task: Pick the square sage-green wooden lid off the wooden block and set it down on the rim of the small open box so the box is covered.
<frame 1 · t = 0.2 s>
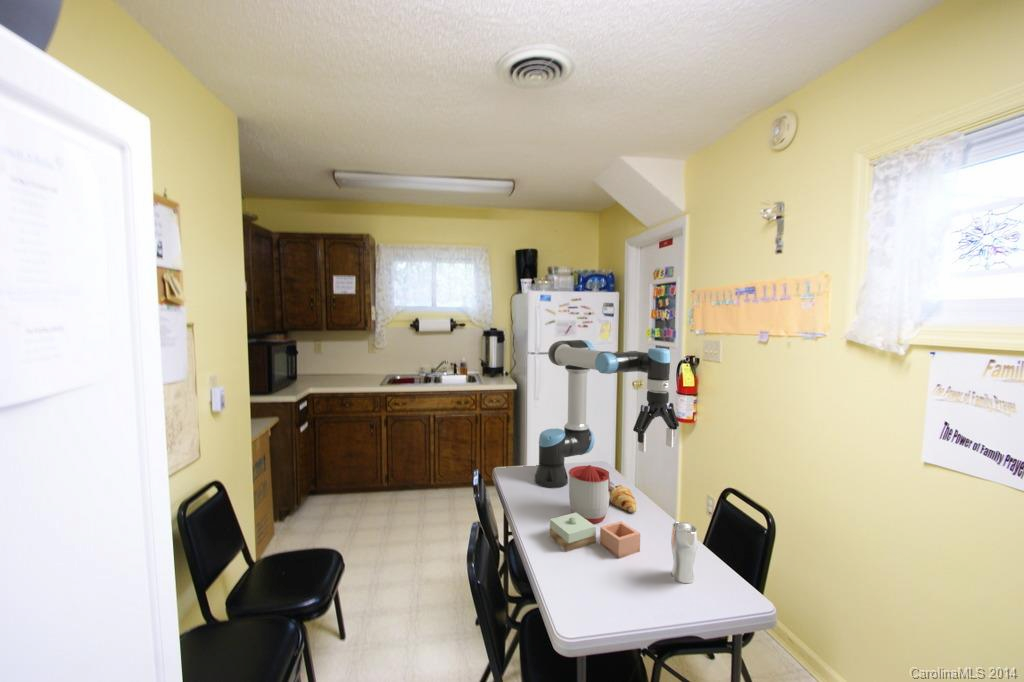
hand: (655, 448, 151), 28 cm above the table, fingers open, 13 cm apart
open box: (619, 547, 136), on the table
lid: (572, 531, 140), point 3 cm above the table, touching wooden block
croissant: (620, 503, 169), on the table
beer glass: (682, 577, 121), on the table
citrus juicer: (591, 517, 157), on the table
wooden block: (572, 539, 140), on the table
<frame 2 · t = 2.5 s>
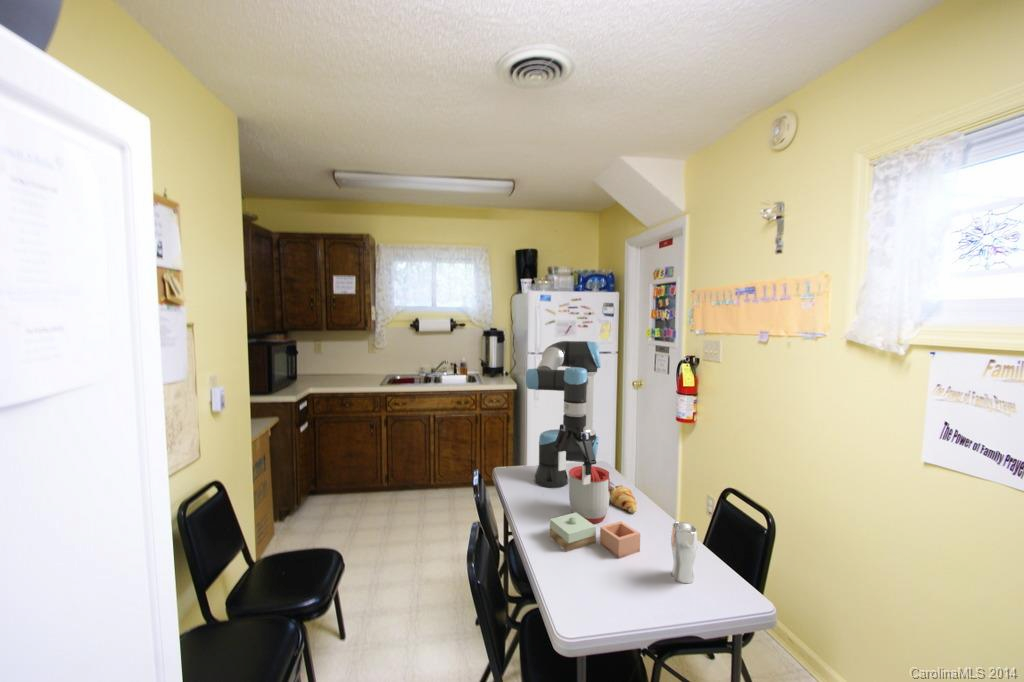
hand: (573, 476, 139), 22 cm above the table, fingers open, 13 cm apart
nothing on the table moved.
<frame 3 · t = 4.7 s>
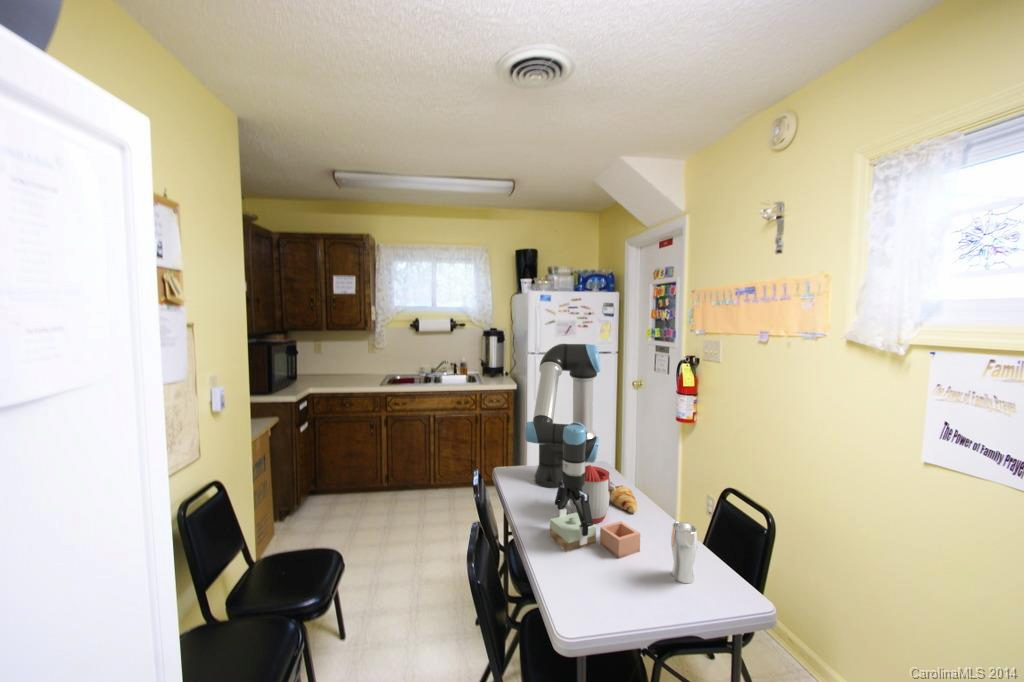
hand: (572, 535, 140), 2 cm above the table, fingers closed on lid, 11 cm apart
lid: (572, 531, 140), point 3 cm above the table, touching gripper, wooden block
everything else where it was.
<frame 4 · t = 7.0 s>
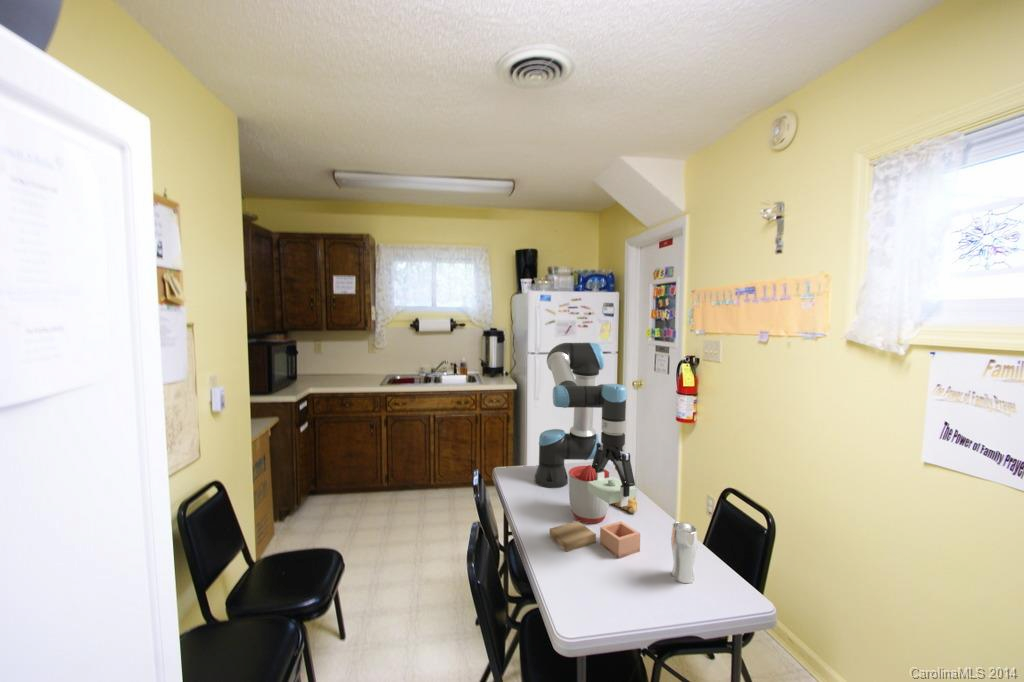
hand: (611, 498, 135), 16 cm above the table, fingers closed on lid, 11 cm apart
lid: (611, 494, 135), point 18 cm above the table, touching gripper
everything else where it was.
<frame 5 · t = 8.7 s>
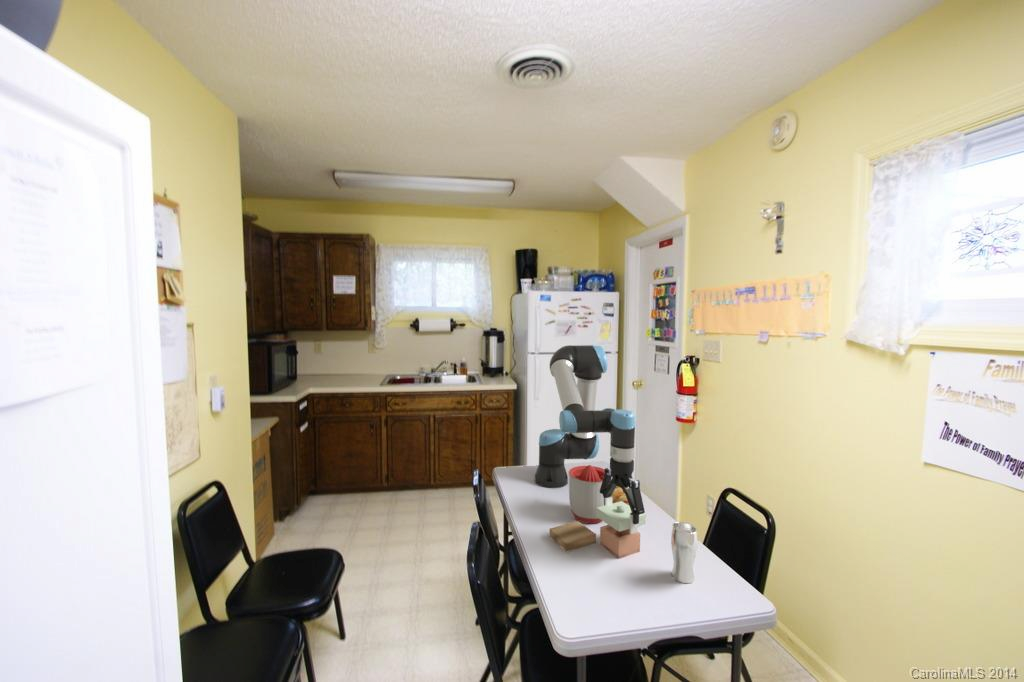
hand: (620, 524, 135), 8 cm above the table, fingers closed on lid, 11 cm apart
lid: (620, 520, 135), point 9 cm above the table, touching gripper
everything else where it was.
when the fingers open (6 cm above the table, at t = 9.7 s): lid drops 1 cm, resting on open box.
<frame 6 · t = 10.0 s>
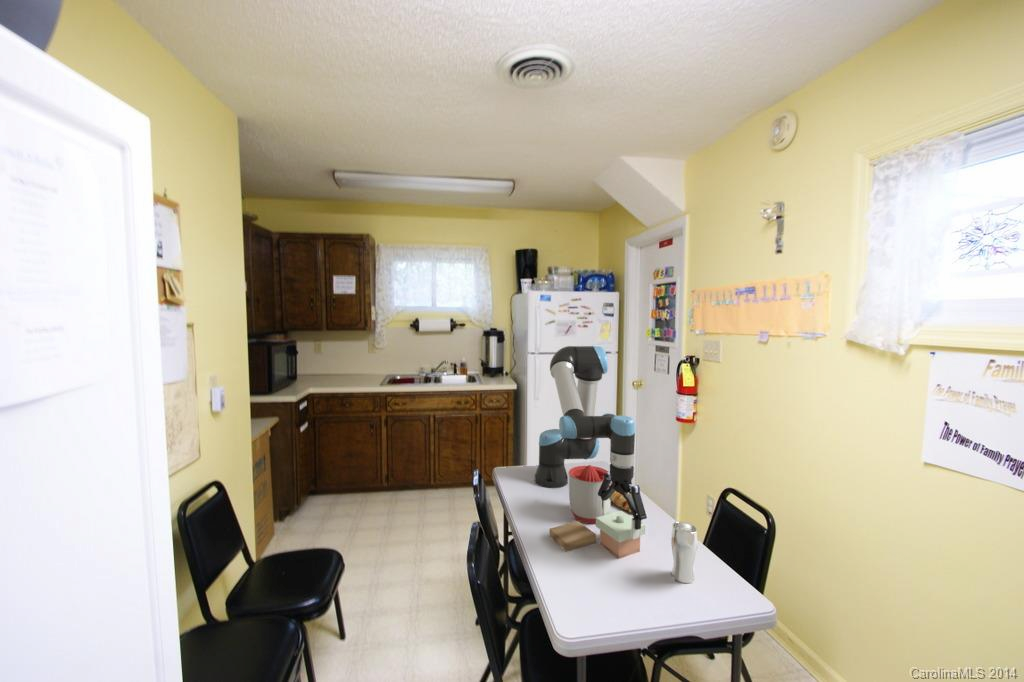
hand: (620, 528, 135), 7 cm above the table, fingers open, 13 cm apart
lid: (619, 530, 135), point 6 cm above the table, touching open box
everything else where it was.
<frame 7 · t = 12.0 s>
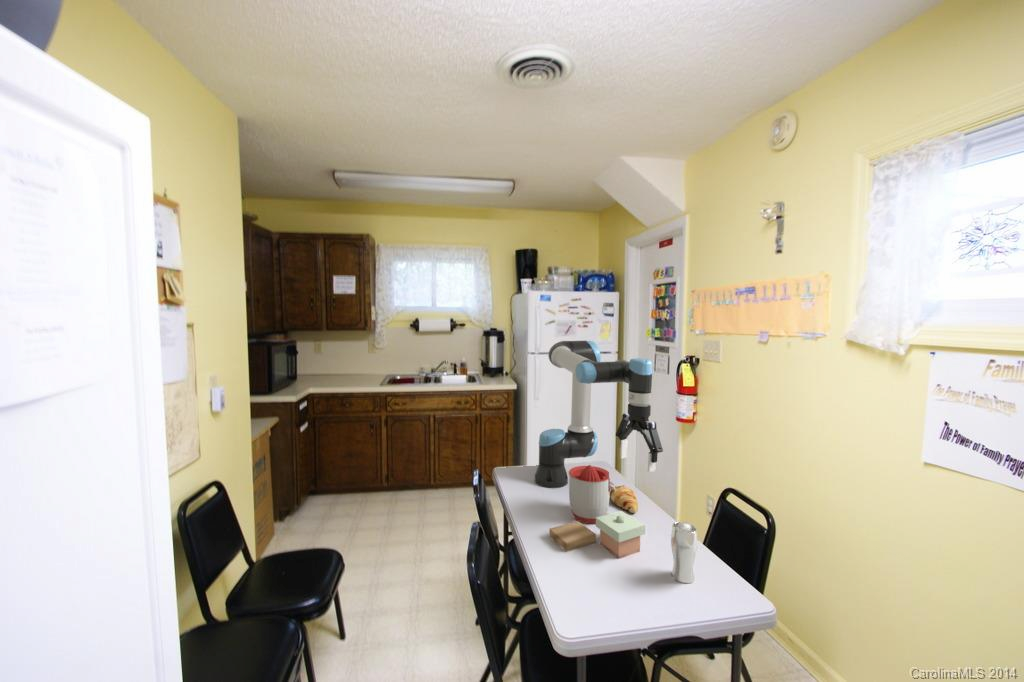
hand: (637, 464, 144), 25 cm above the table, fingers open, 13 cm apart
nothing on the table moved.
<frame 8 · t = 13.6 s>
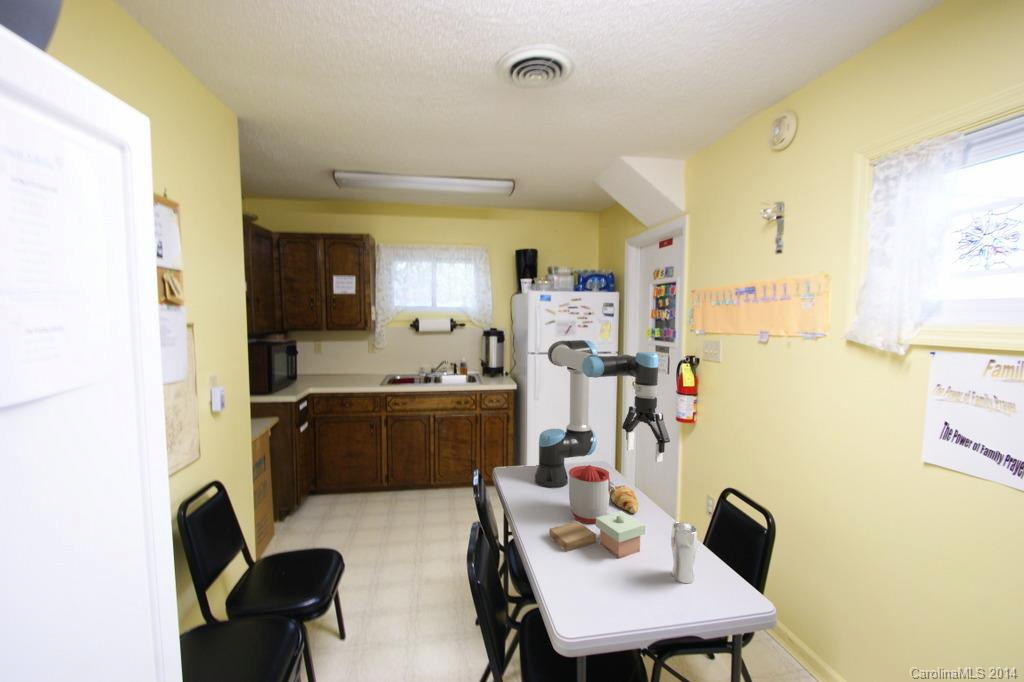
hand: (644, 455, 147), 27 cm above the table, fingers open, 13 cm apart
at the end: lid 0.0 cm off-centre on the open box, point 6.0 cm above the open box's base; lid tilted 0°; the gripper is holding nothing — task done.
